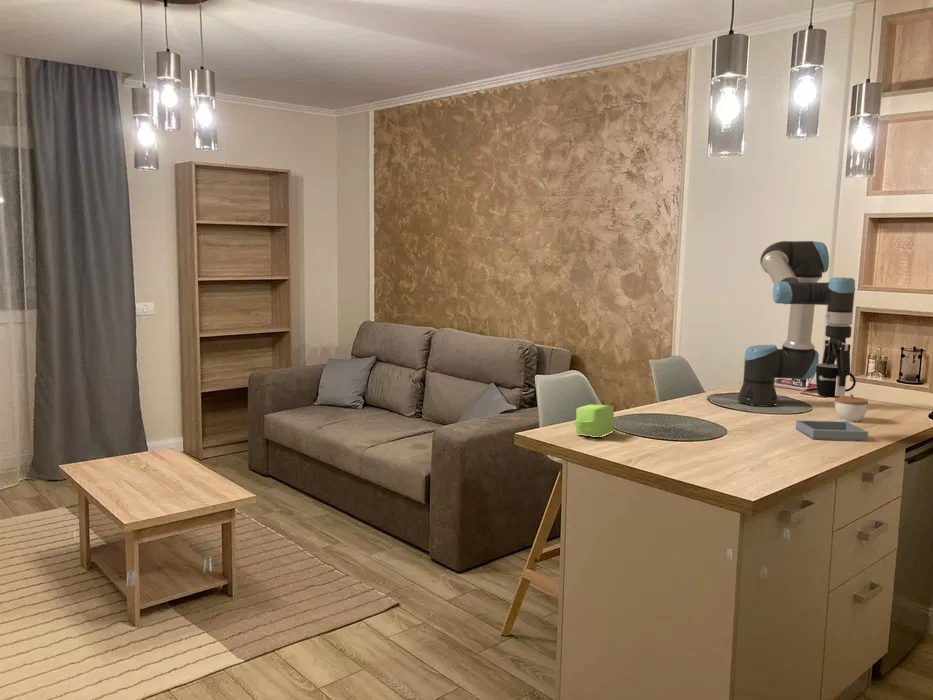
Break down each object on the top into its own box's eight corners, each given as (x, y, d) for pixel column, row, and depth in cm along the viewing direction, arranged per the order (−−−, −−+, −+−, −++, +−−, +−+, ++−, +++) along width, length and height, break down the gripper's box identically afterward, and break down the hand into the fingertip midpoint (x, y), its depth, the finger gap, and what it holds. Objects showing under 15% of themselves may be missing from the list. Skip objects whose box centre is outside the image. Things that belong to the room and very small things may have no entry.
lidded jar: (863, 418, 275) (865, 393, 274) (868, 424, 265) (871, 398, 264) (831, 415, 278) (833, 391, 277) (835, 421, 268) (837, 396, 267)
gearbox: (592, 428, 254) (592, 401, 254) (619, 431, 249) (619, 403, 248) (567, 437, 240) (567, 408, 239) (595, 440, 234) (595, 410, 233)
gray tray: (795, 428, 256) (796, 420, 255) (846, 430, 255) (847, 421, 254) (812, 439, 241) (813, 430, 240) (867, 441, 240) (868, 432, 239)
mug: (810, 396, 246) (813, 365, 244) (818, 392, 253) (820, 362, 251) (850, 400, 238) (853, 369, 237) (857, 397, 245) (860, 366, 244)
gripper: (813, 322, 254) (809, 387, 257) (841, 327, 233) (835, 399, 236) (836, 322, 254) (831, 388, 256) (866, 328, 232) (860, 399, 235)
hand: (833, 393), depth 246 cm, fingers closed on mug, 9 cm apart
